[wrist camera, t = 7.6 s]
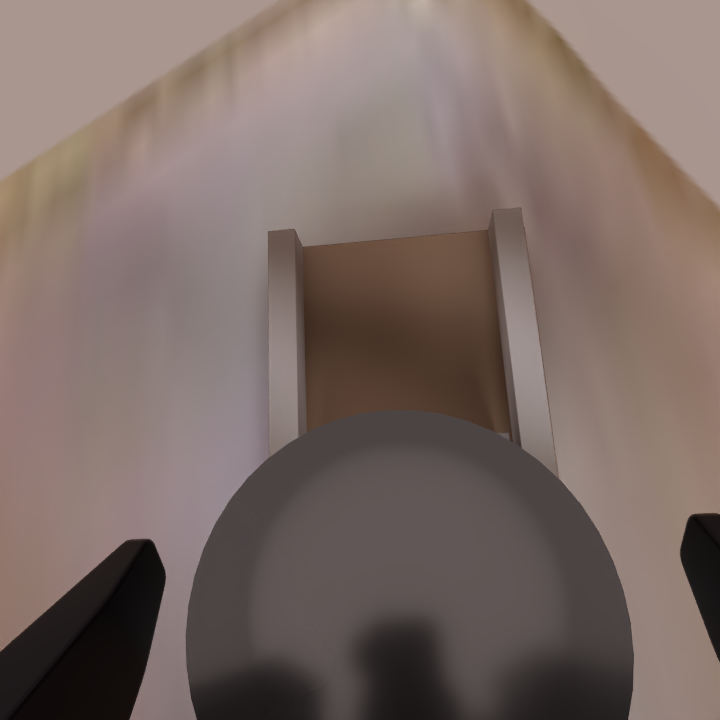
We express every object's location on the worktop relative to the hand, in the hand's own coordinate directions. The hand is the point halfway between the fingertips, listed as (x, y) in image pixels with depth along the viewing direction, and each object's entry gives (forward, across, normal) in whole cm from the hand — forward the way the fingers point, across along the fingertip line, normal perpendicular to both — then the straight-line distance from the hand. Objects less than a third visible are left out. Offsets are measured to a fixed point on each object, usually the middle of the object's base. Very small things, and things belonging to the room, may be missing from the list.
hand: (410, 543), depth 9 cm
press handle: (+4, 0, +4) cm, 6 cm away
